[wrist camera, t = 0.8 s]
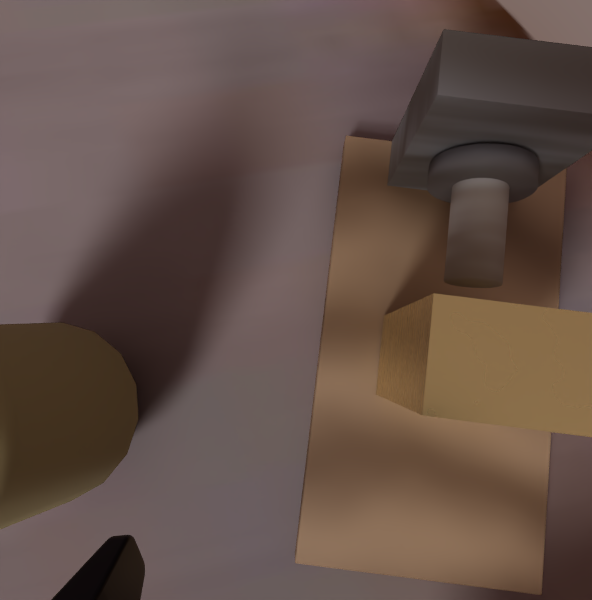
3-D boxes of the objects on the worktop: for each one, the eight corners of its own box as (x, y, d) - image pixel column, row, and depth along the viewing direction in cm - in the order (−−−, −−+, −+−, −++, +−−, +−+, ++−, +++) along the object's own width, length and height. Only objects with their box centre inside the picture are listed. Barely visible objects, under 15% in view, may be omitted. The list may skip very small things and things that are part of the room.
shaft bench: (529, 583, 24) (695, 742, 14) (295, 553, 24) (296, 689, 14) (554, 171, 27) (710, 61, 17) (343, 145, 27) (374, 20, 17)
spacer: (494, 409, 24) (608, 439, 15) (375, 394, 24) (422, 415, 15) (500, 330, 24) (613, 315, 16) (384, 315, 24) (433, 293, 16)
